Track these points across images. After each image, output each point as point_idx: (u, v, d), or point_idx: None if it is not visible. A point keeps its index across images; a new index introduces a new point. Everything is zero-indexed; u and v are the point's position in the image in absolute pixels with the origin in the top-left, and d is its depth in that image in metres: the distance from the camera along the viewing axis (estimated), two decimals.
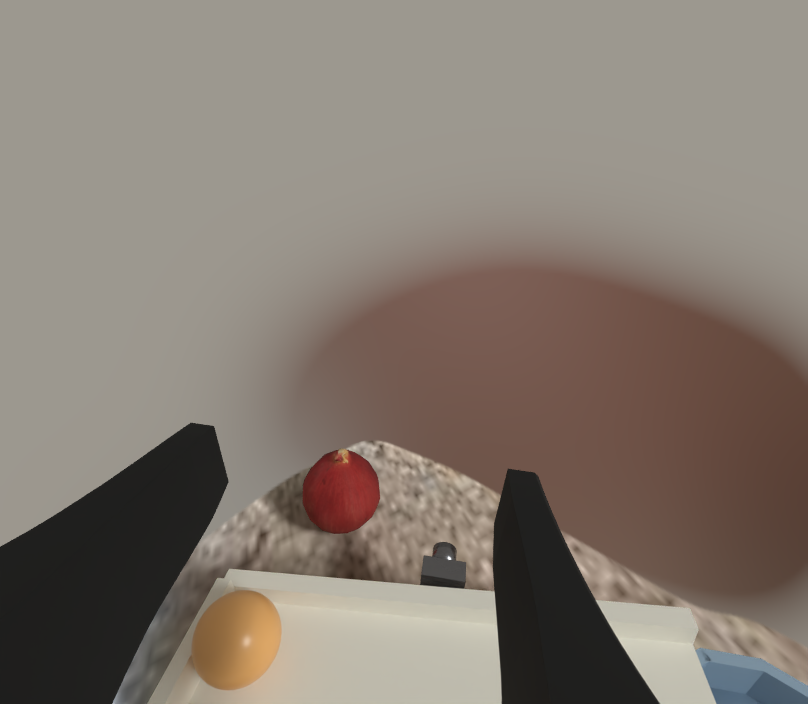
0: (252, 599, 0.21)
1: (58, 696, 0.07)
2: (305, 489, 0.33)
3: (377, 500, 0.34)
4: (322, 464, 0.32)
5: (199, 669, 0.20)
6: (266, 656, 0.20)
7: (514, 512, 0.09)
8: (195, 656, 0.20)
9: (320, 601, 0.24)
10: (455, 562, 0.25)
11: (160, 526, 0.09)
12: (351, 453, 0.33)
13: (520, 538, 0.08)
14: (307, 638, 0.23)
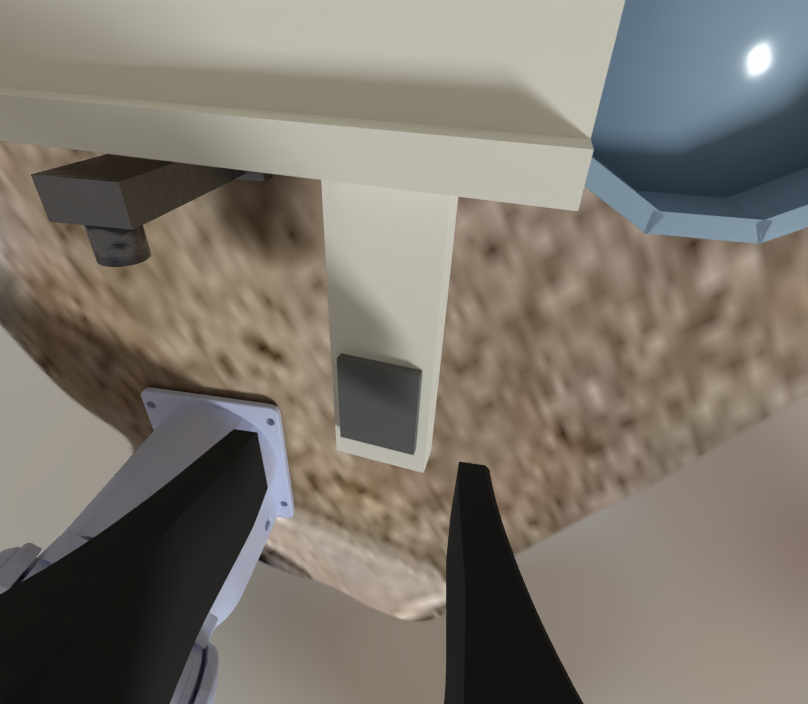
0: None
1: None
2: None
3: None
4: None
5: None
6: None
7: (458, 503, 0.09)
8: None
9: None
10: None
11: (209, 535, 0.09)
12: None
13: (460, 528, 0.08)
14: None
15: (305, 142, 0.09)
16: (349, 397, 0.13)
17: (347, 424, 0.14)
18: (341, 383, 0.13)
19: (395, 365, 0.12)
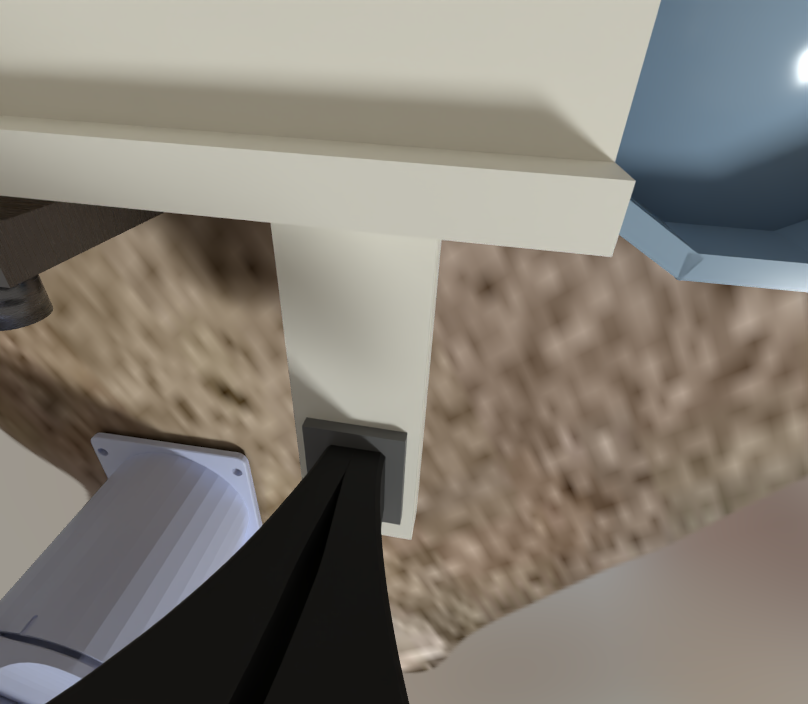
0: None
1: None
2: None
3: None
4: None
5: None
6: None
7: (341, 485, 0.09)
8: None
9: None
10: None
11: None
12: None
13: (335, 508, 0.09)
14: None
15: (246, 175, 0.06)
16: None
17: None
18: (309, 452, 0.11)
19: (374, 428, 0.10)
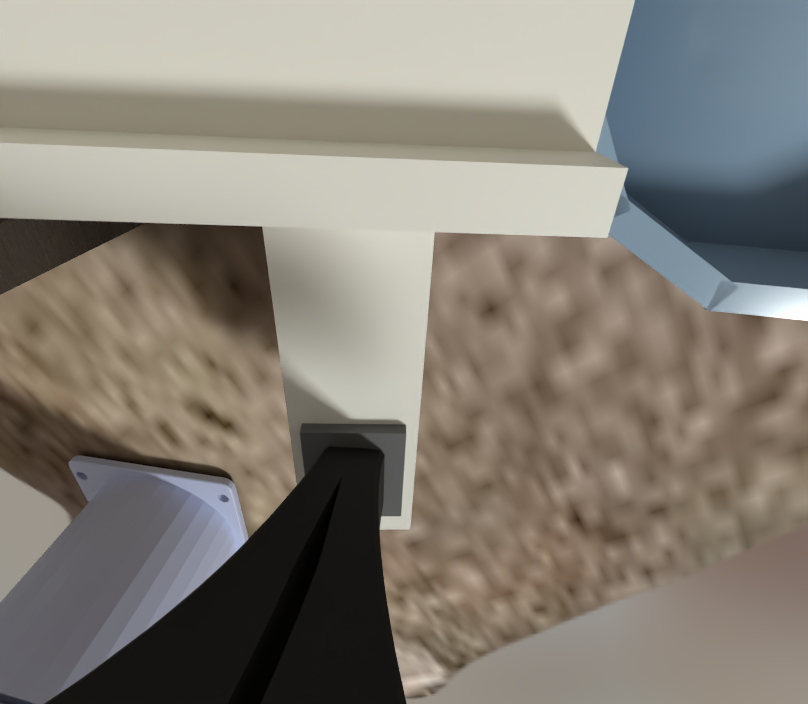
0: None
1: None
2: None
3: None
4: None
5: None
6: None
7: (340, 485, 0.09)
8: None
9: None
10: None
11: None
12: None
13: (333, 508, 0.09)
14: None
15: (254, 179, 0.06)
16: None
17: None
18: (307, 458, 0.11)
19: (372, 424, 0.10)
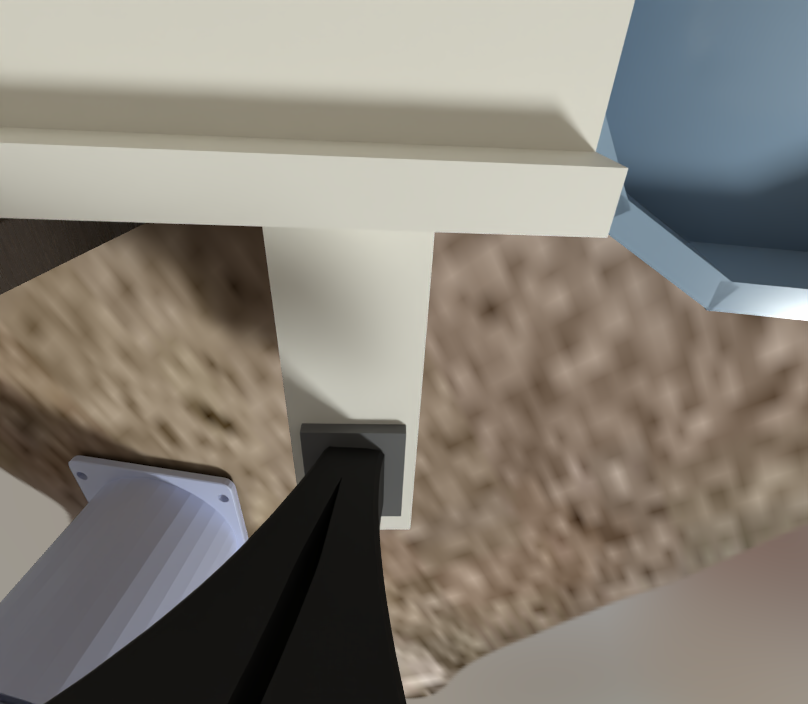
0: None
1: None
2: None
3: None
4: None
5: None
6: None
7: (340, 485, 0.09)
8: None
9: None
10: None
11: None
12: None
13: (333, 508, 0.09)
14: None
15: (254, 179, 0.06)
16: None
17: None
18: (307, 458, 0.11)
19: (372, 424, 0.10)
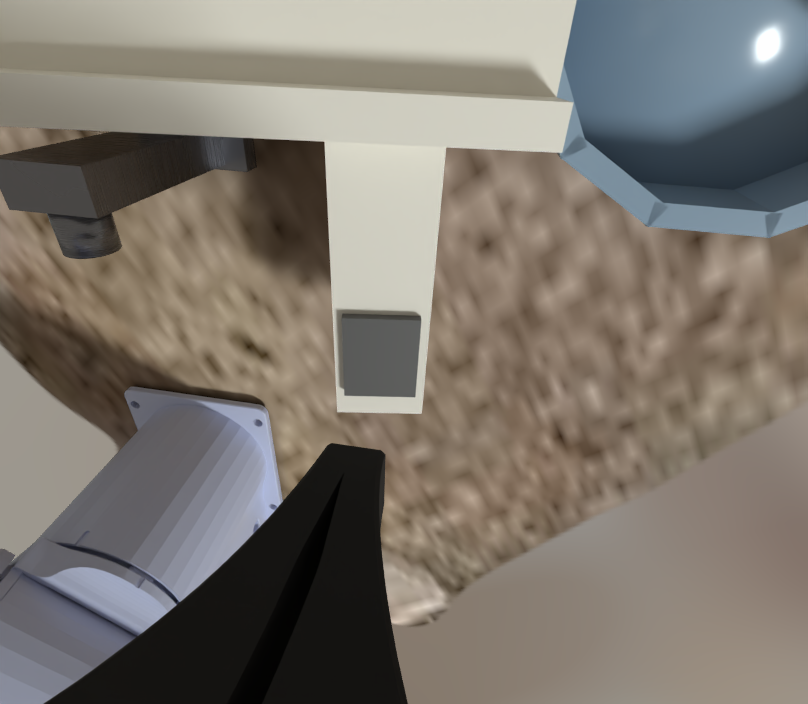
0: None
1: None
2: None
3: None
4: None
5: None
6: None
7: (340, 485, 0.09)
8: None
9: None
10: None
11: None
12: None
13: (334, 508, 0.09)
14: None
15: (330, 107, 0.10)
16: (354, 354, 0.14)
17: (351, 381, 0.15)
18: (346, 342, 0.14)
19: (396, 315, 0.14)
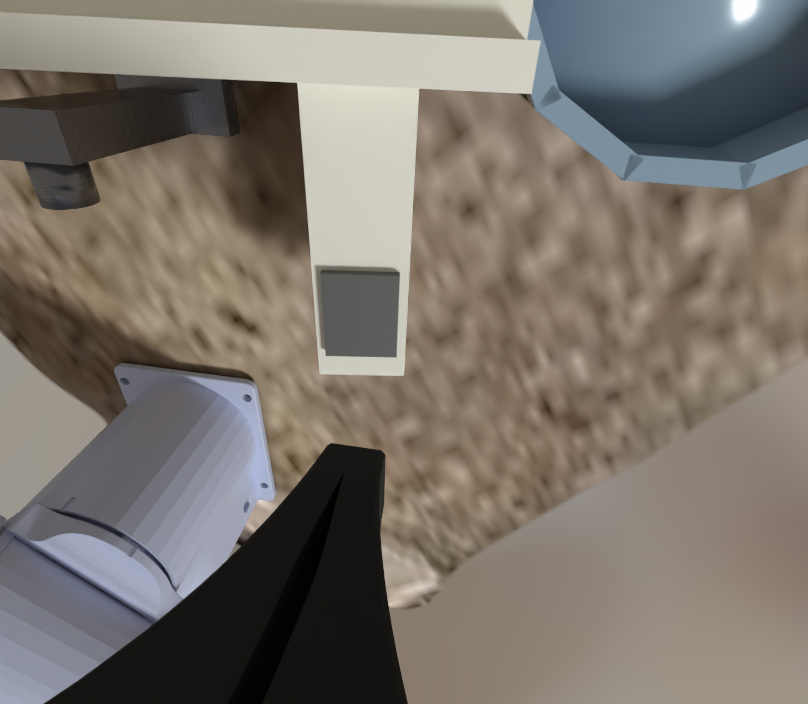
0: None
1: None
2: None
3: None
4: None
5: None
6: None
7: (340, 485, 0.09)
8: None
9: None
10: None
11: None
12: None
13: (334, 508, 0.09)
14: None
15: (299, 47, 0.10)
16: (333, 311, 0.14)
17: (332, 341, 0.15)
18: (325, 299, 0.14)
19: (374, 271, 0.14)
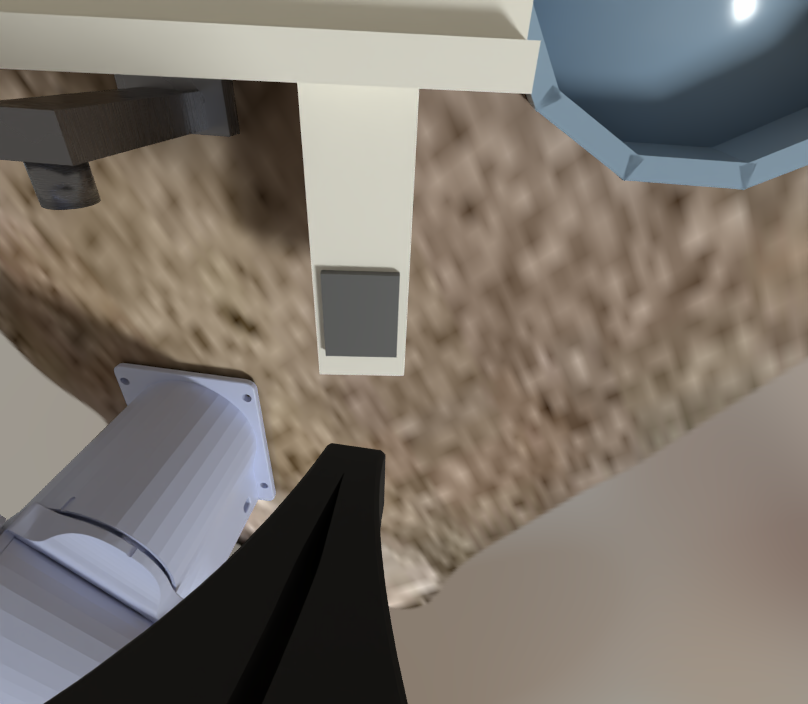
0: None
1: None
2: None
3: None
4: None
5: None
6: None
7: (340, 485, 0.09)
8: None
9: None
10: None
11: None
12: None
13: (334, 508, 0.09)
14: None
15: (299, 47, 0.10)
16: (333, 311, 0.14)
17: (332, 341, 0.15)
18: (325, 299, 0.14)
19: (374, 271, 0.14)
